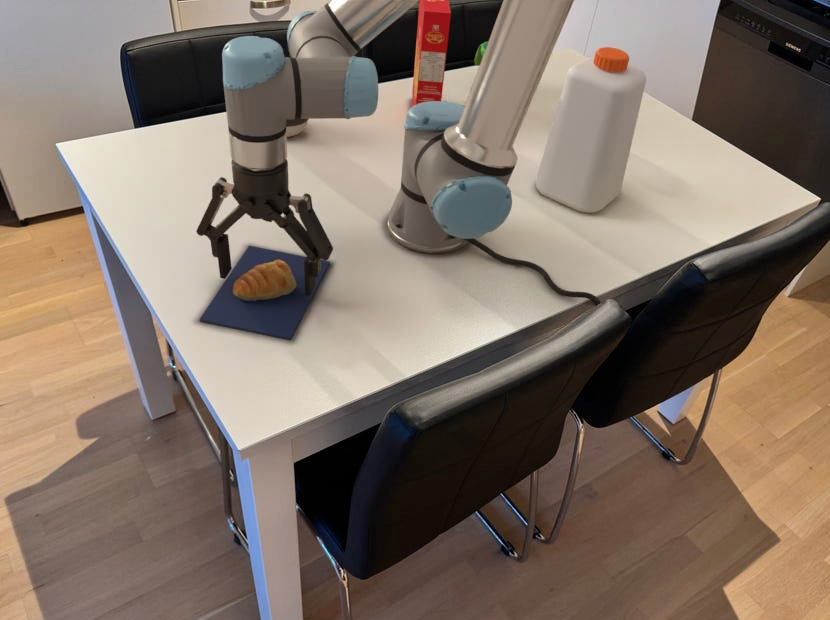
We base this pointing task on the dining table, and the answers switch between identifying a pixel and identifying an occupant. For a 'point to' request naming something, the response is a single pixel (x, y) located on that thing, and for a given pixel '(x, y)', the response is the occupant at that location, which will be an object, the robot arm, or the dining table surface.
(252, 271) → the pastry
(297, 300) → the cloth mat
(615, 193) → the plastic bottle
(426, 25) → the food packaging
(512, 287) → the dining table surface
